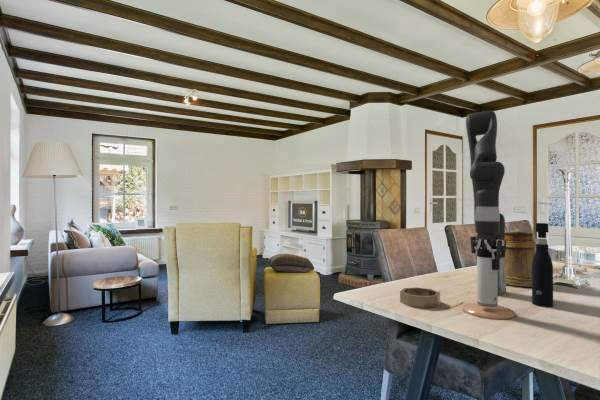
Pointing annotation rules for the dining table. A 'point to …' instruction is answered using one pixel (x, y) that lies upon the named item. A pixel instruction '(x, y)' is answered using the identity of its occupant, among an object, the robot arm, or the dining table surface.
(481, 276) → the travel mug
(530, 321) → the dining table surface
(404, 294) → the collar ring
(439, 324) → the dining table surface
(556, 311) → the dining table surface
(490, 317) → the coaster
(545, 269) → the black water bottle
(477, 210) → the robot arm
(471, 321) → the dining table surface
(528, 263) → the tankard
